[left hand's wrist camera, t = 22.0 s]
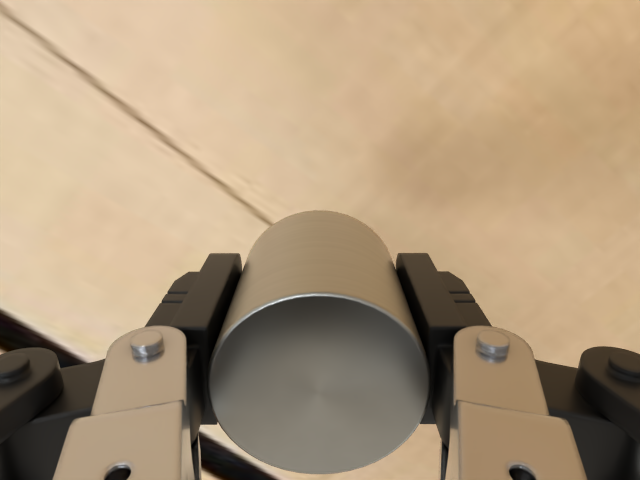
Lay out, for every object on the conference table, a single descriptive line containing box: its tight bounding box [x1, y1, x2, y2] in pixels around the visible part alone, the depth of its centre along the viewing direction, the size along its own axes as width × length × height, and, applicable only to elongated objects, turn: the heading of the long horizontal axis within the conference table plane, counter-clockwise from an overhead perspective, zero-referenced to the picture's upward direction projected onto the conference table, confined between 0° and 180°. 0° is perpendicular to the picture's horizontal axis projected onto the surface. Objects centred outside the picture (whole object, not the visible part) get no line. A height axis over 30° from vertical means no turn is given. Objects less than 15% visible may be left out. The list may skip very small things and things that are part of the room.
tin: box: [207, 211, 431, 474], centre depth 10 cm, size 4×4×4 cm
